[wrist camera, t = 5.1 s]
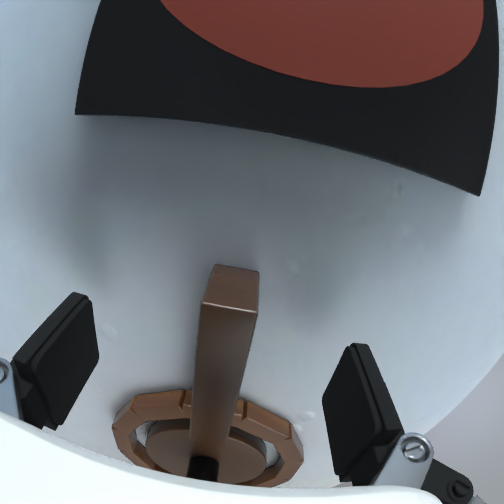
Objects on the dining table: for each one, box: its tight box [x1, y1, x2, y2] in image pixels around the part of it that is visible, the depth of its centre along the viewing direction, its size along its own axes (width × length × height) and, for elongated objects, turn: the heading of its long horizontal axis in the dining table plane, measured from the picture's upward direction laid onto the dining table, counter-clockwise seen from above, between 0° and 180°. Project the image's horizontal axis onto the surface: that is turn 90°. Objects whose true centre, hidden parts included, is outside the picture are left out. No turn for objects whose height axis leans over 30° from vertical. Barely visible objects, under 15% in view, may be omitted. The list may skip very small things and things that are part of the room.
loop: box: [112, 264, 304, 488], centre depth 14 cm, size 20×12×3 cm, turn 170°
